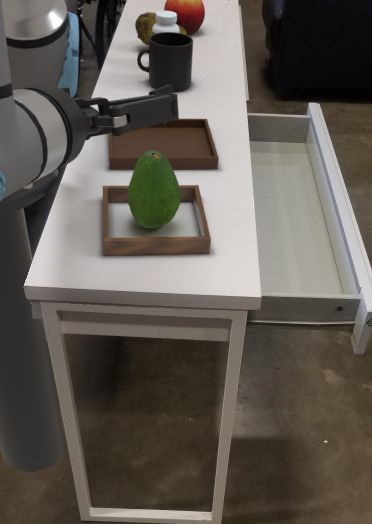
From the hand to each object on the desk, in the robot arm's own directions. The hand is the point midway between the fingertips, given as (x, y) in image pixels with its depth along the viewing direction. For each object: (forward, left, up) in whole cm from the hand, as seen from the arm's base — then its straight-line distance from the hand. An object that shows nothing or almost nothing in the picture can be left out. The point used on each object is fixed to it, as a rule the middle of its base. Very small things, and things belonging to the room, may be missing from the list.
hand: (118, 98), depth 71 cm
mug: (+11, +62, -21) cm, 66 cm away
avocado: (+5, +5, -21) cm, 22 cm away
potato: (+12, +84, -21) cm, 87 cm away
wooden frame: (+5, +5, -21) cm, 22 cm away
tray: (+8, +31, -21) cm, 38 cm away
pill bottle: (+12, +72, -21) cm, 76 cm away
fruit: (+19, +98, -21) cm, 102 cm away
